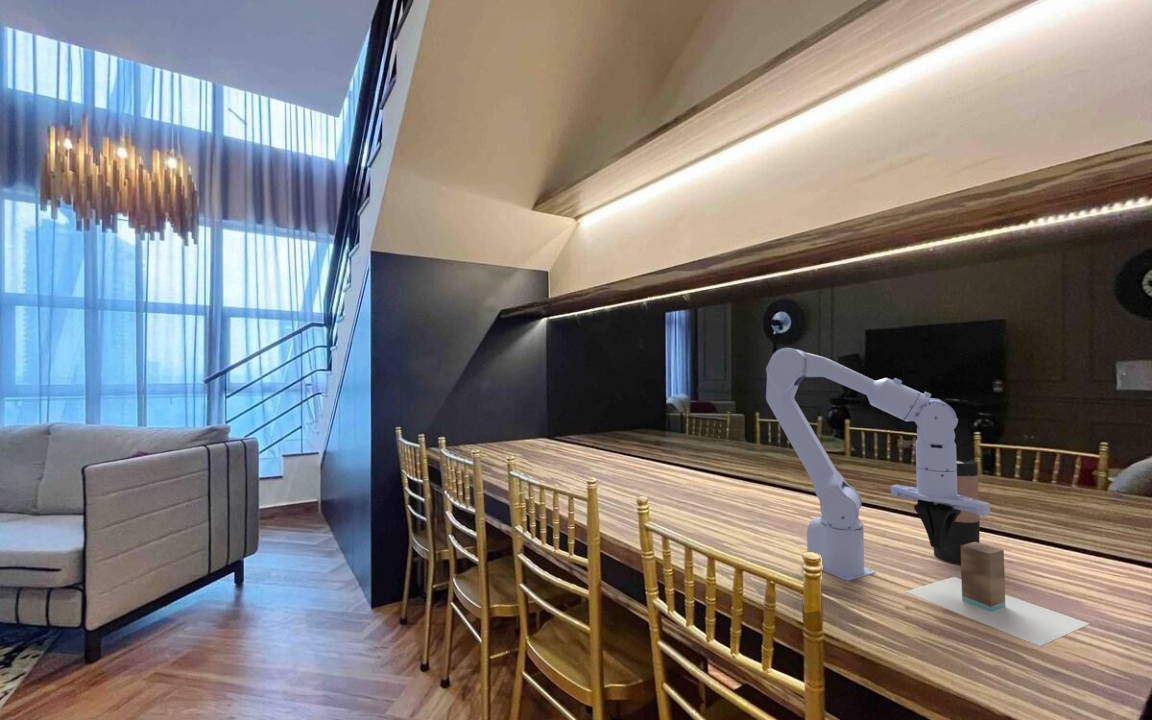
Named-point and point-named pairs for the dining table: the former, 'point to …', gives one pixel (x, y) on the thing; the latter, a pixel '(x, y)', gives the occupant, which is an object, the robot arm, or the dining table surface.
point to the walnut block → (983, 576)
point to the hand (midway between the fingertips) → (938, 546)
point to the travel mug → (962, 515)
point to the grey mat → (1002, 613)
